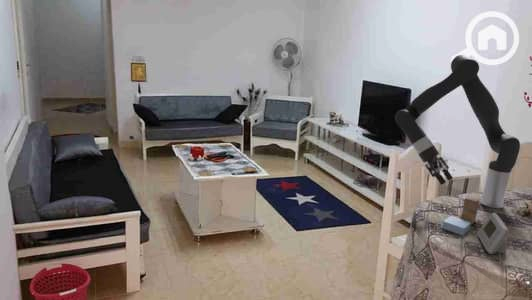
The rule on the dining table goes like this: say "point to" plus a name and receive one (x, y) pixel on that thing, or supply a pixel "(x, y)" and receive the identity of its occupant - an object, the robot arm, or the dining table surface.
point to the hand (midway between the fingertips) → (447, 181)
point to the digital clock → (494, 234)
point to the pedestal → (456, 225)
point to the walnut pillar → (470, 209)
